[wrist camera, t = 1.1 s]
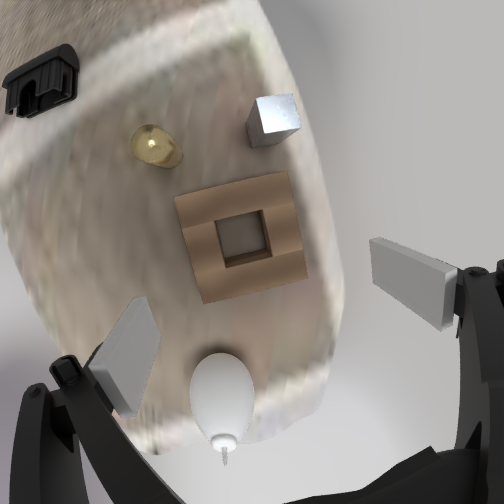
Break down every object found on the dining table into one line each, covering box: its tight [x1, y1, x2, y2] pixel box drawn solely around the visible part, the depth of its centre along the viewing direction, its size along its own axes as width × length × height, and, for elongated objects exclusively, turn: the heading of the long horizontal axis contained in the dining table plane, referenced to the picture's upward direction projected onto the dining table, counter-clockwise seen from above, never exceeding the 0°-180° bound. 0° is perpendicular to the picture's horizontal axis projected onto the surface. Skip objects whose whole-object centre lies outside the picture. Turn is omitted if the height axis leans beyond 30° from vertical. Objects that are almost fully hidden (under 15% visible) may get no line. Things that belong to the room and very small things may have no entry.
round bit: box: [130, 124, 183, 169], centre depth 25 cm, size 3×3×10 cm
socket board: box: [174, 171, 308, 304], centre depth 31 cm, size 12×12×4 cm
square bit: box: [246, 93, 302, 149], centre depth 26 cm, size 3×3×10 cm
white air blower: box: [190, 353, 255, 467], centre depth 28 cm, size 8×8×18 cm
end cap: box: [2, 44, 79, 118], centre depth 22 cm, size 10×7×7 cm
